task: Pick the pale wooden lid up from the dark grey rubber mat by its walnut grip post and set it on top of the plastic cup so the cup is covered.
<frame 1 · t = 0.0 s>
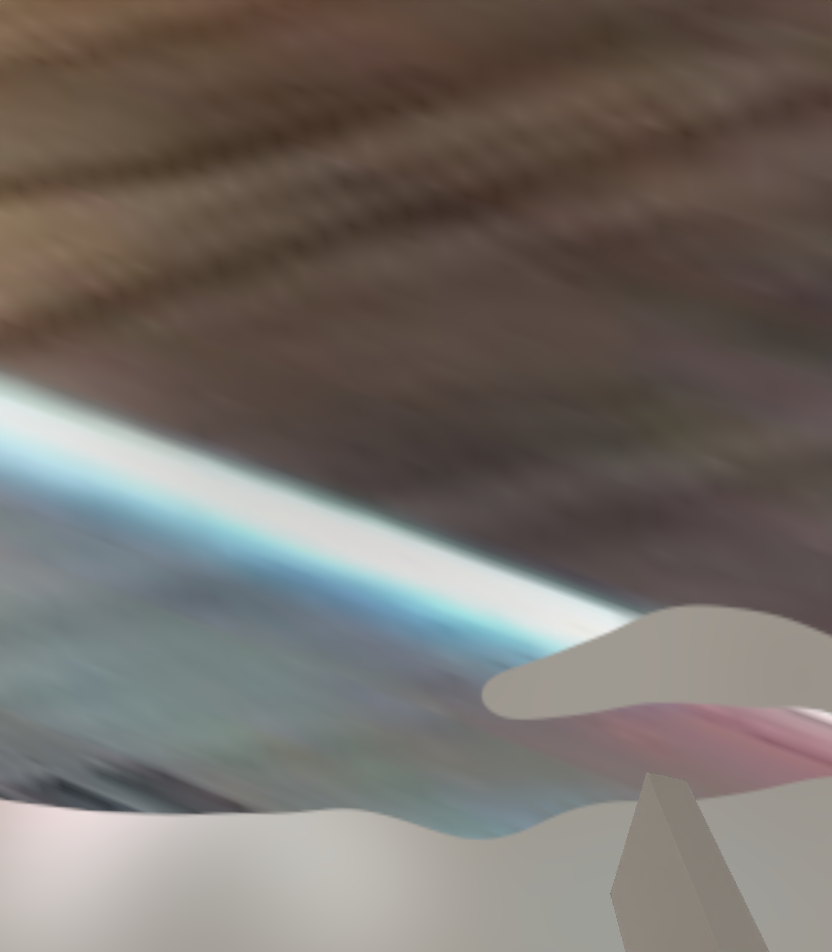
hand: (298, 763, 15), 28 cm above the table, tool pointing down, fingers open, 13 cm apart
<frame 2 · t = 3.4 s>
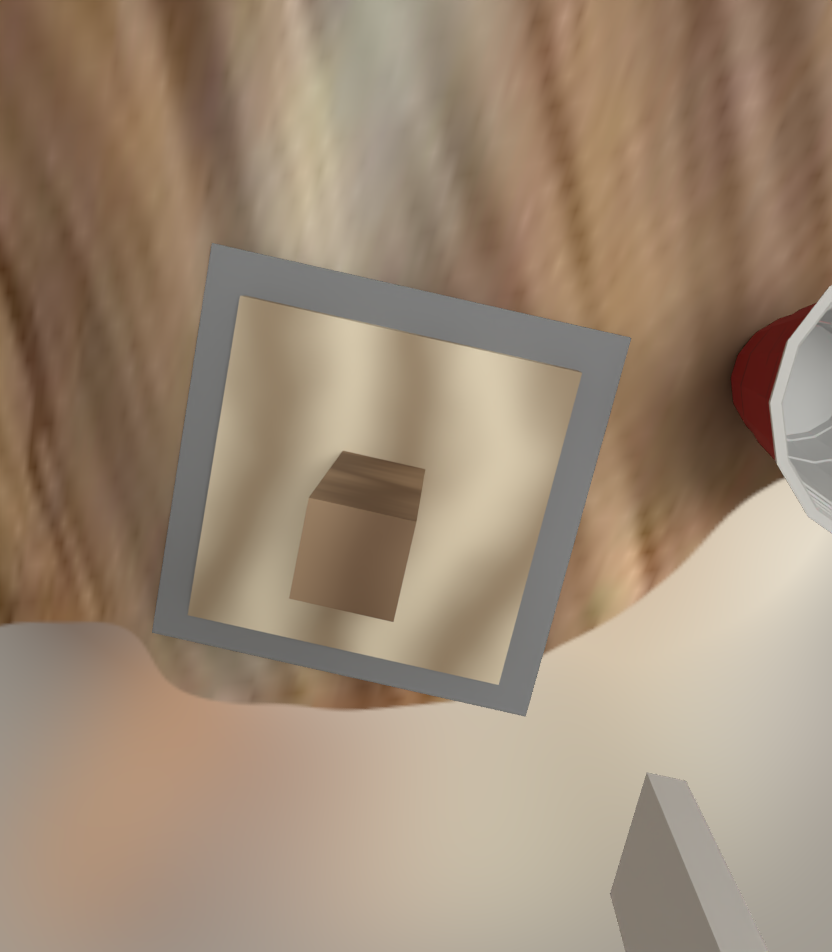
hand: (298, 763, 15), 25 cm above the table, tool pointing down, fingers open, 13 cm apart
mat: (379, 489, 40), on the table
plastic cup: (789, 373, 38), on the table
lid: (377, 493, 39), point 1 cm above the table, touching mat
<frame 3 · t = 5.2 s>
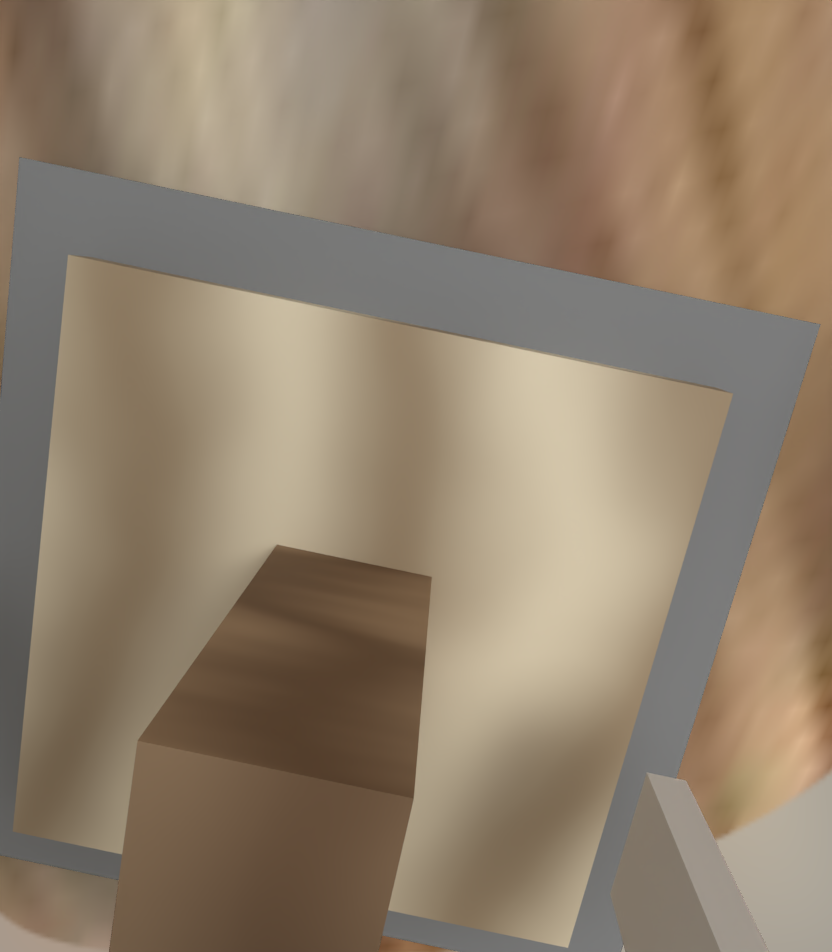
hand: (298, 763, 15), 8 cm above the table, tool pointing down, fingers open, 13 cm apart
mat: (350, 602, 22), on the table
lid: (346, 614, 22), point 1 cm above the table, touching mat
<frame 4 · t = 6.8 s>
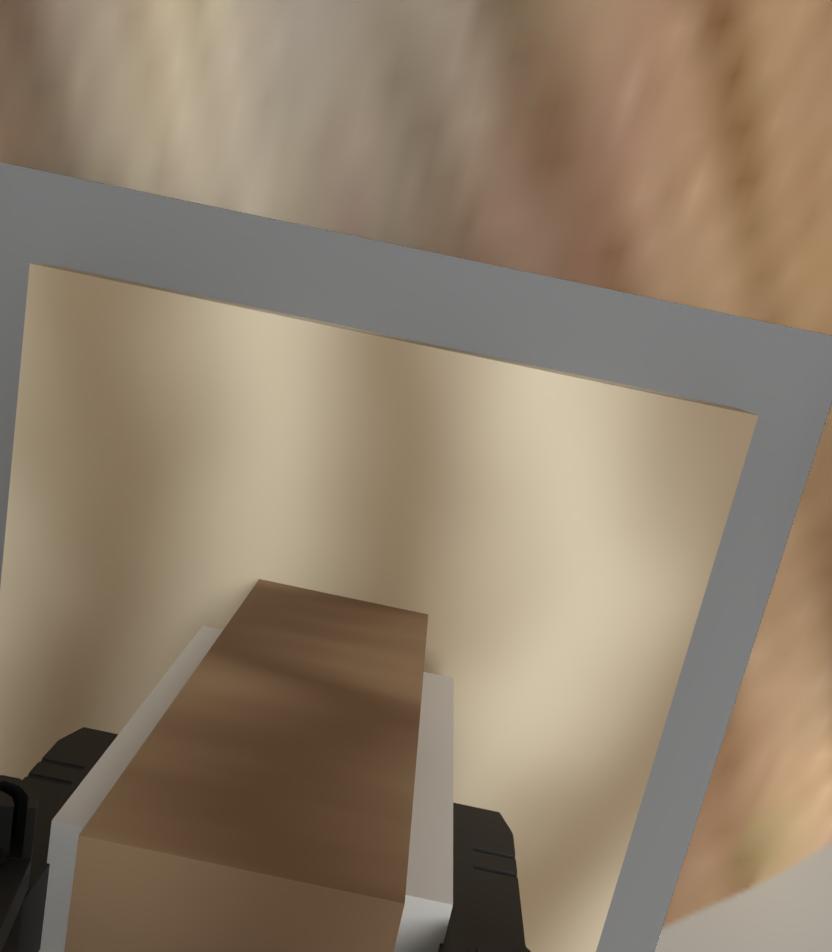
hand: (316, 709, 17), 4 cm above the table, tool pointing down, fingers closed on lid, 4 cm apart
mat: (340, 639, 21), on the table
lid: (336, 652, 20), point 1 cm above the table, touching gripper, mat
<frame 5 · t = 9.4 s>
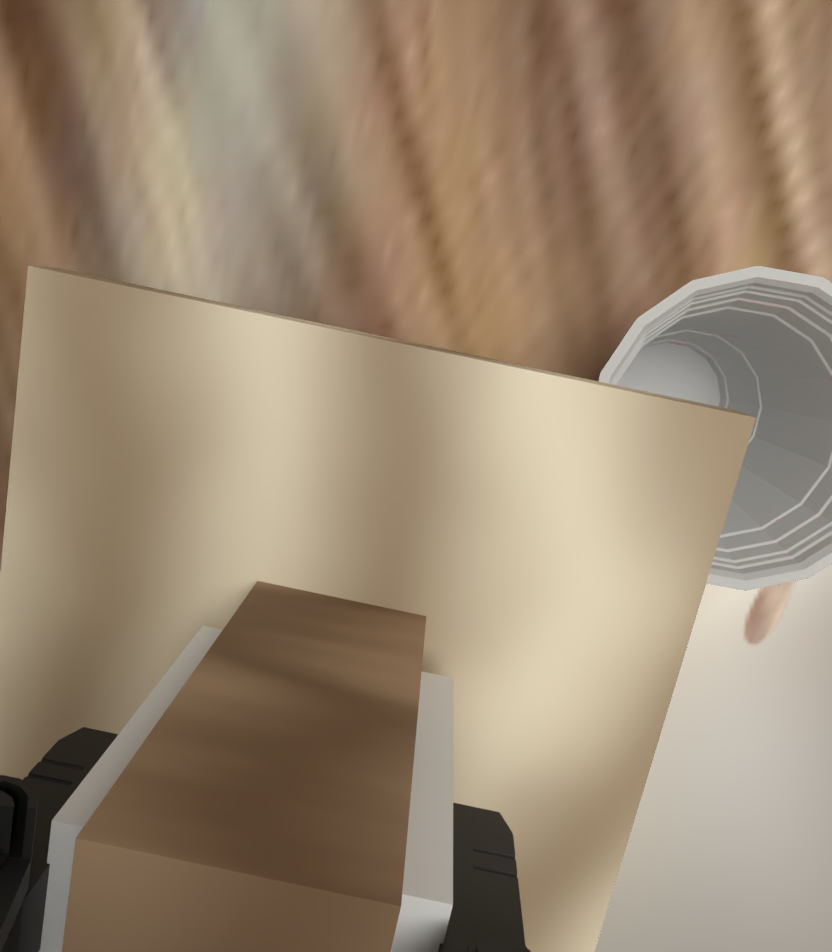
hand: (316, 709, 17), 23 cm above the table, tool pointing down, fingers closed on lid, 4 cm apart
plastic cup: (660, 393, 38), on the table
lid: (334, 654, 20), point 20 cm above the table, touching gripper
when the fingers open (16 cm above the table, at t = 12.0 s): lid drops 1 cm, resting on plastic cup.
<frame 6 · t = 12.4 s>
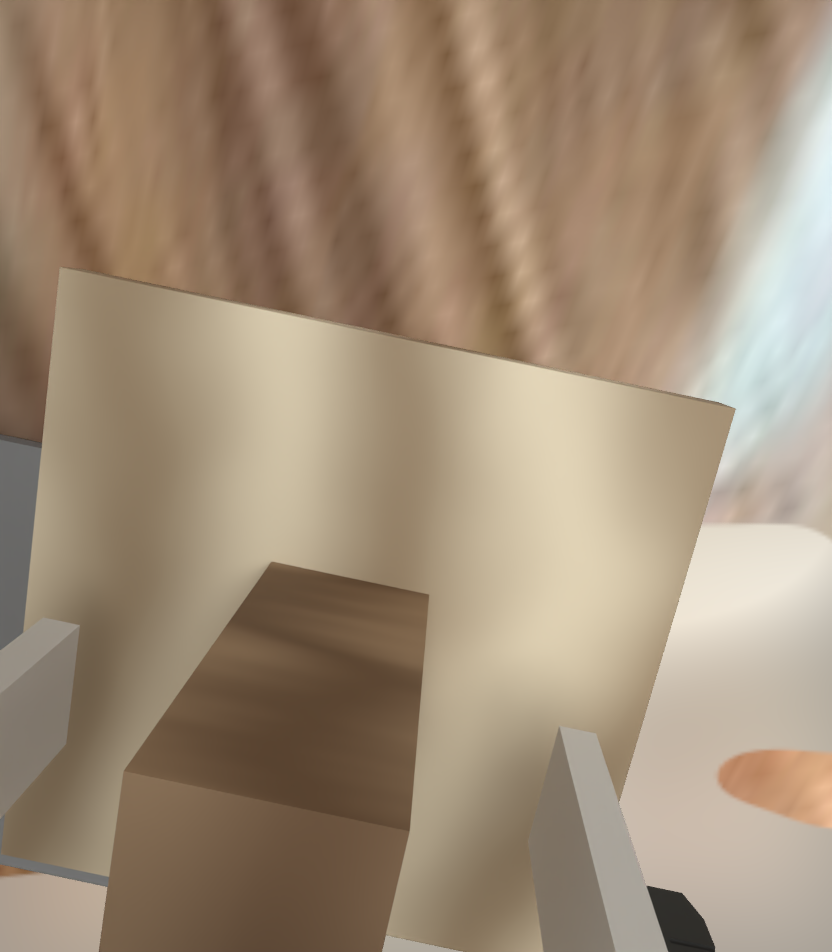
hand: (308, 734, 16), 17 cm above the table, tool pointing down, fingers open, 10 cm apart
lid: (342, 631, 21), point 12 cm above the table, touching plastic cup
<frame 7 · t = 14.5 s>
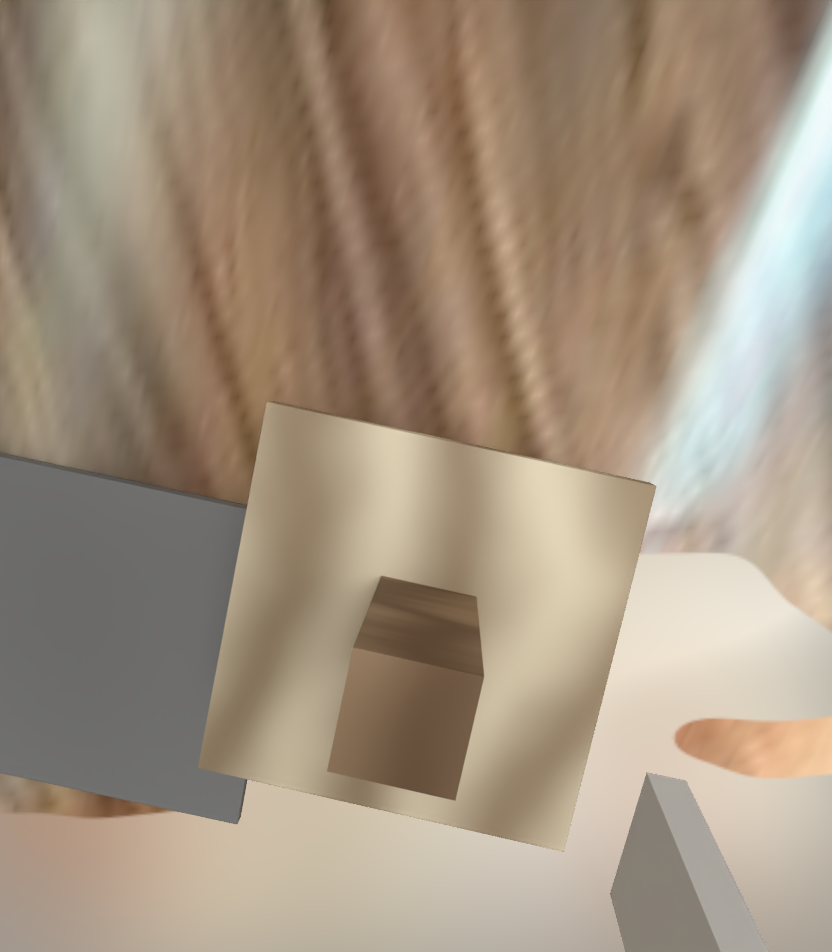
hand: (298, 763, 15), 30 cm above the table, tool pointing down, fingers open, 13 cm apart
mat: (105, 637, 48), on the table
lid: (420, 623, 34), point 12 cm above the table, touching plastic cup
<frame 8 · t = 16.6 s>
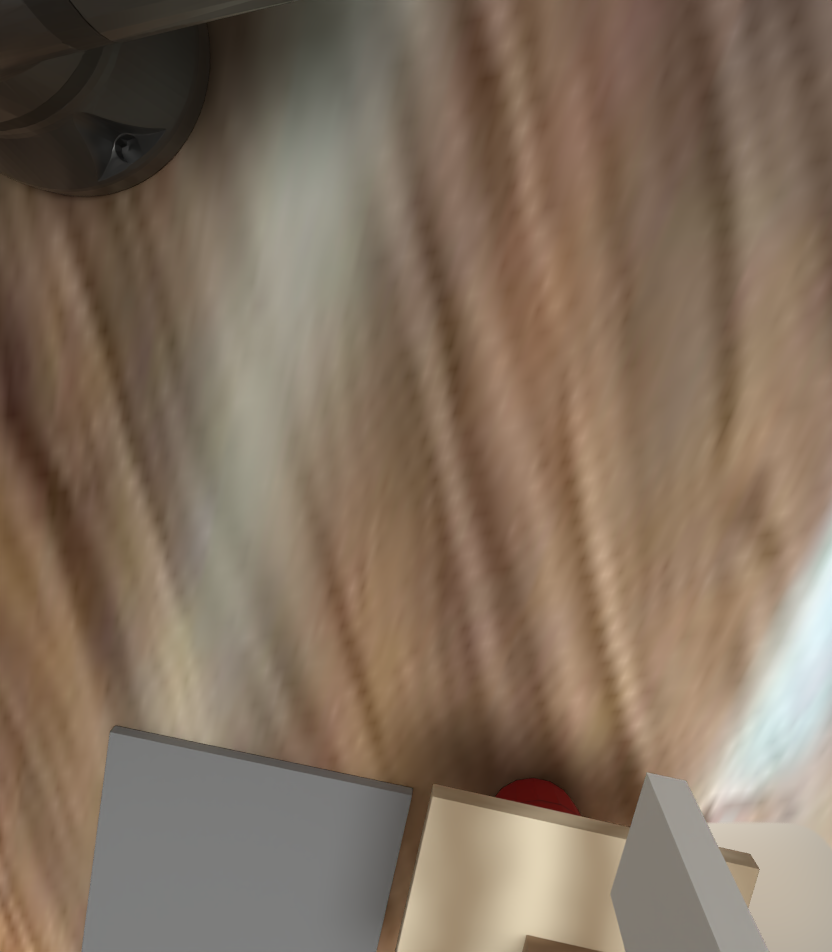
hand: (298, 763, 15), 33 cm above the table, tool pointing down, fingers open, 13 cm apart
mat: (240, 884, 54), on the table
plastic cup: (531, 810, 52), on the table, touching lid
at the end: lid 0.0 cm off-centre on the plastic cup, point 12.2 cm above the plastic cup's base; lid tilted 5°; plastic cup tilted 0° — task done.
